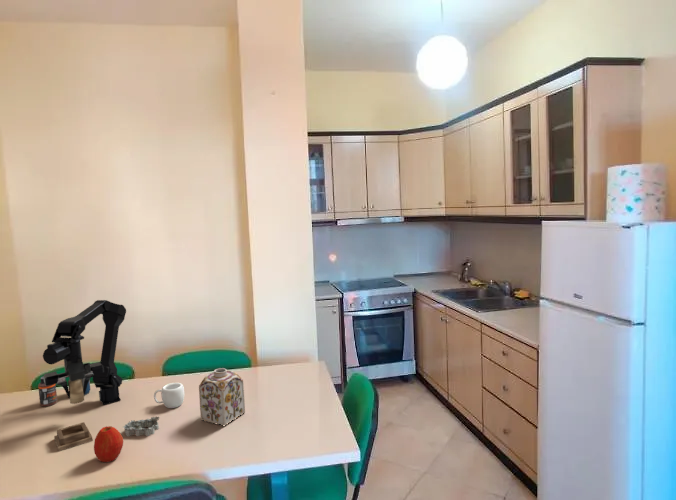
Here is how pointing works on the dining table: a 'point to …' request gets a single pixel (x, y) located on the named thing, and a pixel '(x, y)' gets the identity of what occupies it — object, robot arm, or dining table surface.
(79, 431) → the walnut socket holder
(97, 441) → the apple
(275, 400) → the dining table surface
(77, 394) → the wooden dowel
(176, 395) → the mug
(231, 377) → the decorative jar
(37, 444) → the dining table surface
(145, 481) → the dining table surface
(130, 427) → the egg carton
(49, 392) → the supplement bottle
